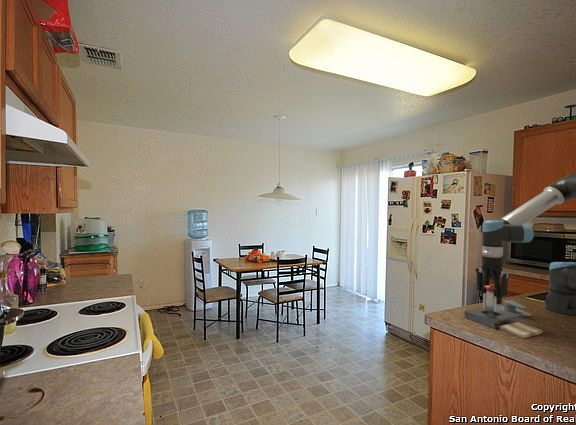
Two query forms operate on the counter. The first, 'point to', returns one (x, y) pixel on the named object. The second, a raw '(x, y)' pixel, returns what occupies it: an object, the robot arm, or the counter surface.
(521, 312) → the shower valve
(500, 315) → the eye plate
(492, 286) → the red mushroom button
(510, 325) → the birch pad
